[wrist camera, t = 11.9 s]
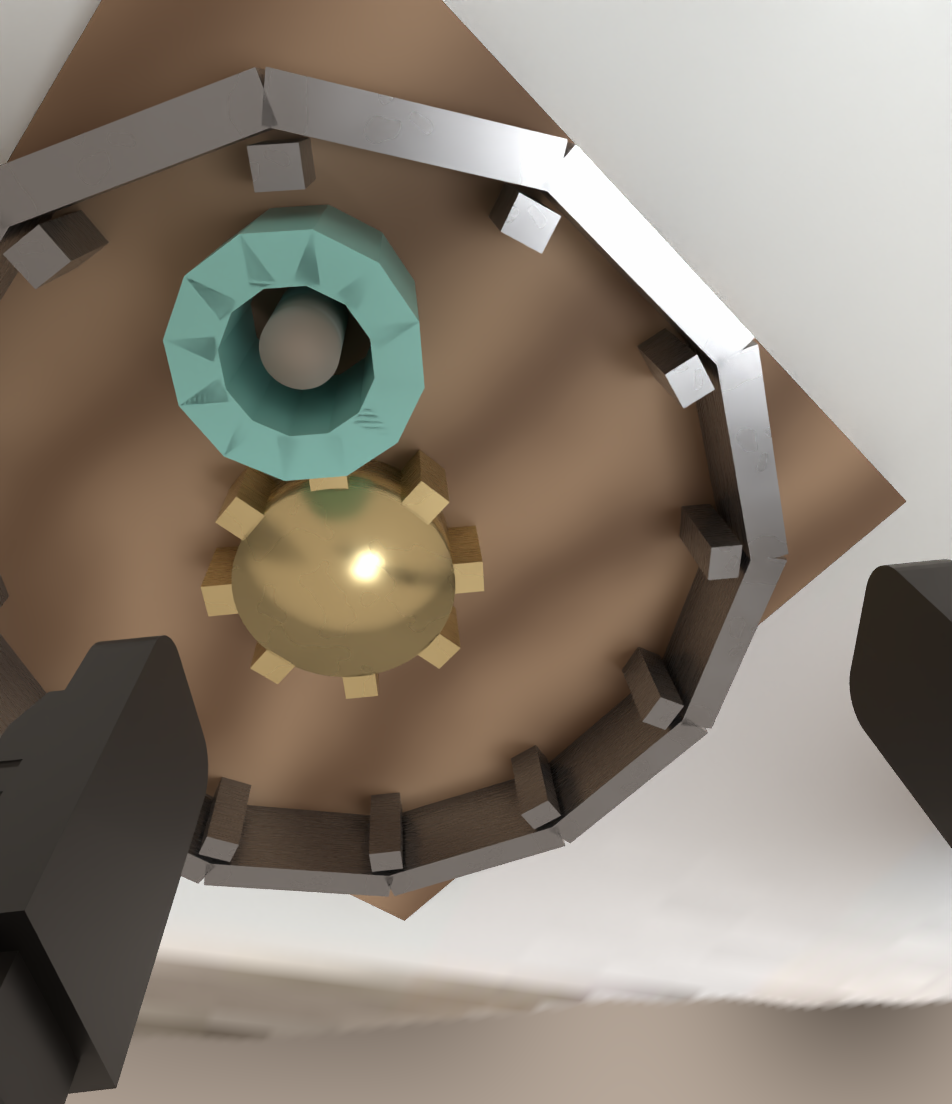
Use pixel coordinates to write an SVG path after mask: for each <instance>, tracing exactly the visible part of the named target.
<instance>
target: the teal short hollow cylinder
mask: <svg viewBox="0 0 952 1104" xmlns="http://www.w3.org/2000/svg"><path fill="white" fill-rule="evenodd" d="M297 286H308V287H310V288H312V289H314V290H316V291H318V292H320V293H322V294H324V295H326V296H328V297H330V298H332V299H334V300H337V301H339V302H341V303H343V304H345V305H346V306H347V308H348V309H349V310H350V312H351V313H352V315H353V316H354V317H355V319H356V320H357V322H358V323H359V324H360V326H361V327H362V328H363V330H364V331H365V333H366V334H367V335H368V337H369V338H370V342H371V346H370V348H369V350H368V353H367V355H366V357H365V358H364V359H362V360H361V361H359V362H358V363H356V364H355V365H353V366H352V367H350V368H349V369H348V370H346V371H345V372H343V373H342V374H340V375H332V377H331V378H330V379H329V380H328V381H326V382H325V383H324V384H322V385H320V386H318V387H316V388H312V389H303V390H301V389H294V388H290V387H287V386H285V385H283V384H281V383H279V382H278V381H276V380H275V379H274V378H273V377H272V376H271V375H270V374H269V373H268V372H267V370H266V369H265V367H264V365H263V363H262V361H261V357H260V353H259V341H260V340H259V339H258V338H257V336H256V330H255V325H254V319H253V314H252V308H251V302H252V299H253V296H255V295H256V294H257V293H259V292H260V291H262V290H263V289H268V288H282V287H297ZM163 343H164V347H165V351H166V355H167V359H168V363H169V367H170V372H171V376H172V380H173V384H174V388H175V392H176V397H177V401H178V405H179V407H180V408H181V409H182V410H183V411H184V412H185V413H186V415H187V416H188V417H189V418H190V419H191V420H192V421H193V422H194V424H195V425H196V426H197V427H198V428H199V429H200V430H201V431H202V433H203V434H204V435H205V436H206V437H207V438H208V439H209V440H210V441H211V443H212V444H213V445H214V446H215V447H216V448H217V449H218V450H219V452H220V453H221V454H222V455H223V456H224V457H227V458H229V459H232V460H234V461H237V462H239V463H241V464H244V465H246V466H249V467H251V468H254V469H256V470H259V471H261V472H264V473H266V474H269V475H271V476H274V477H276V478H279V479H281V480H283V481H290V480H302V479H315V478H327V477H340V476H348V475H349V474H351V473H352V472H354V471H355V470H357V469H358V468H360V467H361V466H363V465H364V464H366V463H367V462H369V461H370V460H372V459H374V458H375V457H377V456H378V455H380V454H381V453H383V452H384V451H386V450H387V449H389V448H390V447H392V446H393V445H395V444H396V443H398V441H399V439H400V437H401V435H402V433H403V431H404V429H405V427H406V425H407V423H408V420H409V418H410V416H411V414H412V412H413V410H414V408H415V406H416V404H417V402H418V400H419V398H420V396H421V394H422V392H423V390H424V388H425V386H424V374H423V362H422V350H421V338H420V325H419V316H418V307H417V298H416V289H415V281H414V279H413V278H412V276H411V275H410V273H409V272H408V270H407V269H406V267H405V266H404V264H403V263H402V261H401V260H400V258H399V257H398V255H397V254H396V252H395V251H394V249H393V248H392V246H391V245H390V243H389V242H388V240H387V239H386V237H385V236H384V234H383V233H382V232H381V231H379V230H377V229H375V228H373V227H371V226H369V225H367V224H365V223H363V222H362V221H360V220H358V219H356V218H354V217H352V216H350V215H348V214H346V213H344V212H342V211H340V210H338V209H336V208H335V207H333V206H331V205H329V204H328V205H312V206H296V207H280V208H270V209H268V210H267V211H266V212H264V213H263V214H262V215H260V216H259V217H258V218H256V219H255V220H254V221H252V222H251V223H250V224H248V225H247V226H246V227H244V228H243V229H242V230H241V231H239V232H238V233H237V234H235V235H234V236H233V237H231V238H230V239H229V240H227V241H226V242H225V243H223V244H222V245H221V246H220V247H219V248H217V249H216V250H215V251H214V252H213V253H211V254H210V255H209V256H208V257H206V258H205V259H204V260H203V261H202V262H200V263H199V264H198V265H197V266H196V267H194V268H193V269H192V270H191V271H189V272H188V273H187V274H186V275H185V276H184V278H183V281H182V284H181V287H180V290H179V293H178V296H177V299H176V302H175V305H174V308H173V311H172V314H171V317H170V320H169V323H168V326H167V329H166V332H165V335H164V338H163Z"/></svg>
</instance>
